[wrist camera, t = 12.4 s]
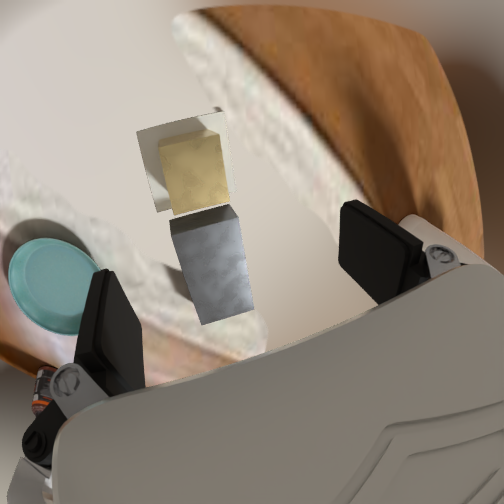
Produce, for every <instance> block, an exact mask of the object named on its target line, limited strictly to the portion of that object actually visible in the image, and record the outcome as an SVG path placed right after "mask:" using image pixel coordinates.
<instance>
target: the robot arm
mask: <svg viewBox="0 0 504 504" xmlns="http://www.w3.org/2000/svg"><path fill="white" fill-rule="evenodd" d="M423 243H424V242H423V241H421V240H420V239H418V238H417V237H416V236H414V235H413V234H411V233H410V232H408V231H407V230H405V229H404V228H402V227H401V226H399V225H397V224H396V223H394V222H393V221H391V220H390V219H388V218H387V217H385V216H383V215H382V214H380V213H379V212H377V211H375V210H374V209H372V208H370V207H369V206H367V205H365V204H364V203H362V202H360V201H359V200H352V201H348V202H345V203H344V204H343V206H342V207H341V209H340V235H339V256H338V261H339V264H340V266H341V267H342V268H343V269H344V270H345V271H346V272H347V273H348V274H349V275H350V276H351V277H352V278H353V279H354V280H355V281H356V282H357V283H358V284H359V285H360V286H361V287H362V288H363V289H364V290H365V291H366V292H367V294H368V295H369V296H370V297H372V299H373V300H374V301H375V302H376V303H377V304H378V306H376V307H374V308H372V309H370V310H367V311H365V312H364V313H361V314H359V315H357V316H355V317H352V318H350V319H348V320H346V321H343V322H341V323H339V324H337V325H334V326H332V327H330V328H327V329H325V330H323V331H320V332H318V333H315V334H313V335H310V336H308V337H305V338H303V339H300V340H298V341H295V342H292V343H290V344H287V345H284V346H282V347H279V348H276V349H274V350H271V351H268V352H265V353H262V354H260V355H257V356H254V357H251V358H248V359H245V360H242V361H239V362H236V363H233V364H230V365H226V366H223V367H220V368H217V369H213V370H210V371H206V372H203V373H199V374H196V375H192V376H189V377H185V378H182V379H178V380H174V381H171V382H167V383H163V384H159V385H155V386H151V387H147V388H146V387H145V376H144V363H143V345H142V327H141V324H140V321H139V319H138V318H137V316H136V314H135V312H134V310H133V308H132V306H131V305H130V303H129V301H128V299H127V297H126V295H125V293H124V291H123V289H122V287H121V285H120V283H119V281H118V279H117V277H116V275H115V273H114V271H109V270H108V269H103V270H100V271H97V272H94V273H93V276H92V279H91V283H90V287H89V291H88V295H87V299H86V303H85V307H84V312H83V314H82V318H81V323H80V328H79V333H78V338H77V344H76V350H75V356H74V363H68V364H65V365H63V366H61V367H60V368H59V369H57V371H56V372H55V373H54V374H53V376H52V378H51V382H50V392H51V395H52V397H53V399H52V400H51V402H50V403H49V404H48V405H47V406H46V407H45V409H44V410H43V411H42V412H41V413H40V414H39V416H38V417H37V418H36V419H35V420H34V421H33V423H32V424H31V425H30V426H29V427H28V429H27V430H26V432H25V433H24V436H23V439H22V448H23V452H24V454H25V458H22V457H20V460H19V462H18V465H17V467H16V470H15V472H14V475H13V478H12V481H11V483H10V486H9V489H8V492H7V502H8V504H504V276H503V275H502V274H501V273H499V272H498V271H496V270H495V269H493V268H492V267H490V266H488V265H484V264H465V263H460V262H459V259H458V257H457V255H456V253H455V252H454V251H453V250H451V249H450V248H448V247H446V246H443V245H438V244H434V245H430V246H428V247H427V248H426V250H425V252H424V251H423V250H422V247H423Z"/></svg>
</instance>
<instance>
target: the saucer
mask: <svg viewBox="0 0 504 504" xmlns="http://www.w3.org/2000/svg"><path fill="white" fill-rule="evenodd" d="M97 271H100V268H99V267H98V265H97V264H96V263H95V262H94V261H93V260H92V259H91V258H90V257H89V256H88V255H87V254H86V253H85V252H83V251H82V250H81V249H79V248H78V247H76V246H74V245H72V244H70V243H68V242H65V241H62V240H59V239H53V238H38V239H33V240H30V241H28V242H26V243H24V244H23V245H21V246H20V247H19V248H18V249H17V250H16V252H15V253H14V255H13V256H12V258H11V261H10V264H9V269H8V281H9V286H10V290H11V293H12V296H13V298H14V300H15V302H16V303H17V305H18V307H19V308H20V309H21V311H22V312H23V313H24V314H25V315H26V316H27V317H28V318H29V319H30V320H31V321H33V322H34V323H35V324H37V325H38V326H40V327H41V328H43V329H45V330H48V331H50V332H53V333H56V334H60V335H67V336H77V335H78V333H79V328H80V323H81V318H82V314H83V312H84V307H85V303H86V299H87V295H88V291H89V287H90V283H91V279H92V276H93V273H94V272H97Z"/></svg>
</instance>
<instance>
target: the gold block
mask: <svg viewBox="0 0 504 504" xmlns="http://www.w3.org/2000/svg"><path fill="white" fill-rule="evenodd" d="M158 150H159V155H160V159H161V164H162V168H163V173H164V177H165V181H166V185H167V190H168V194H169V198H170V202H171V206H172V210H173V213H174V215H177V214H181V213H185V212H188V211H193V210H196V209H200V208H204V207H208V206H212V205H216V204H220V203H225V202H229V201H230V199H229V192H228V186H227V180H226V173H225V167H224V160H223V154H222V148H221V141H220V135H219V134H218V133H216V132H214V131H211V130H209V129H204V130H199V131H194V132H190V133H185V134H181V135H177V136H172V137H168V138H164V139H160V140H159V143H158Z"/></svg>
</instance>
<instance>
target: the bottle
mask: <svg viewBox="0 0 504 504" xmlns="http://www.w3.org/2000/svg"><path fill="white" fill-rule="evenodd" d="M398 225H399V226H401V227H402V228H404V229H405V230H407V231H408V232H410V233H411V234H413V235H414V236H416V237H417V238H418V239H420V240H421V241H423V242H424V243H423V247H422V250H423V251H424V252H425V250H426V248H427V247H428V246H430V245H434V244H438V245H443V246H446V247H448V248H450V249H451V250H453V251H454V252H455V253H456V255H457V257H458V259H459V262H460V263H465V264H484V265H488V266H490V267H492V266H491V265H489V264H488V263H487V262H486V261H484V260H483V259H482V258H480V257H479V256H478V255H476V254H475V253H474V252H472V251H471V250H469V249H468V248H467V247H465V246H464V245H462V244H461V243H459V242H458V241H456V240H455V239H453V238H452V237H450V236H449V235H447V234H446V233H444V232H443V231H441V230H440V229H438V228H437V227H435V226H433V225H432V224H430V223H429V222H428V221H426V220H425V219H423V218H421V217H419V216H417V215H414V214H411V215H408V216H406V217H405V218H404V219H402V220H401V222H400V223H399V224H398ZM492 268H493V267H492ZM493 269H495V268H493ZM495 270H496V269H495ZM496 271H497V270H496ZM498 272H499V271H498ZM499 273H500V272H499Z"/></svg>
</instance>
